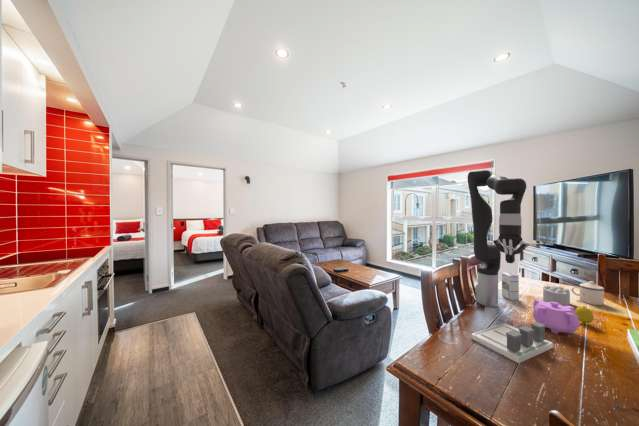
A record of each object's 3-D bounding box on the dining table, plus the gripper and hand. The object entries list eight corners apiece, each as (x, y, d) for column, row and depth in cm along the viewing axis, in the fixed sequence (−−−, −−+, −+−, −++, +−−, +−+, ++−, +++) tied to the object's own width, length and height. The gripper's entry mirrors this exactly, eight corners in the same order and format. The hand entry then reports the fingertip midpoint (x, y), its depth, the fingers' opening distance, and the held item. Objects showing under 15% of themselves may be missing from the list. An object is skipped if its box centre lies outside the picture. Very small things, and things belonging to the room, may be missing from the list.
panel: (471, 338, 91) (471, 333, 91) (504, 327, 99) (504, 322, 99) (518, 363, 76) (518, 357, 76) (552, 348, 85) (552, 342, 85)
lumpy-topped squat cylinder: (569, 302, 127) (569, 286, 126) (570, 309, 118) (570, 292, 117) (543, 296, 134) (543, 282, 134) (542, 303, 125) (542, 287, 125)
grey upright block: (505, 348, 81) (505, 332, 81) (512, 345, 82) (512, 330, 82) (515, 353, 78) (515, 336, 78) (521, 350, 80) (521, 334, 80)
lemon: (597, 327, 99) (597, 309, 99) (582, 326, 100) (582, 308, 100) (585, 321, 104) (585, 304, 104) (571, 320, 106) (571, 303, 106)
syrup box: (519, 299, 130) (519, 275, 129) (509, 300, 130) (509, 275, 130) (511, 296, 135) (511, 272, 135) (501, 296, 135) (501, 272, 135)
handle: (530, 338, 87) (530, 323, 87) (536, 336, 88) (536, 321, 88) (540, 342, 84) (540, 327, 84) (545, 340, 86) (545, 325, 86)
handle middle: (518, 343, 84) (518, 327, 84) (524, 340, 85) (524, 325, 85) (527, 347, 81) (527, 331, 81) (534, 344, 83) (534, 329, 83)
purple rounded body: (516, 319, 107) (516, 294, 107) (552, 318, 107) (552, 294, 107) (556, 341, 89) (556, 311, 89) (599, 340, 89) (599, 311, 89)
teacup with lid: (604, 302, 125) (604, 282, 125) (604, 307, 119) (604, 285, 119) (572, 296, 134) (572, 277, 134) (570, 300, 129) (570, 280, 129)
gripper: (533, 224, 94) (533, 265, 94) (498, 222, 106) (498, 259, 107) (523, 225, 91) (523, 267, 91) (488, 223, 103) (488, 260, 104)
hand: (509, 262), depth 99 cm, fingers closed
